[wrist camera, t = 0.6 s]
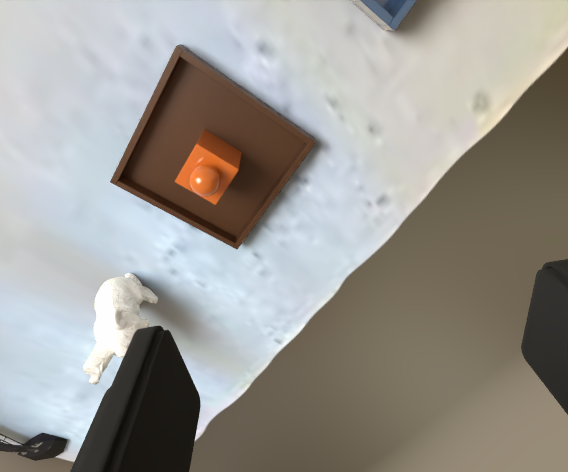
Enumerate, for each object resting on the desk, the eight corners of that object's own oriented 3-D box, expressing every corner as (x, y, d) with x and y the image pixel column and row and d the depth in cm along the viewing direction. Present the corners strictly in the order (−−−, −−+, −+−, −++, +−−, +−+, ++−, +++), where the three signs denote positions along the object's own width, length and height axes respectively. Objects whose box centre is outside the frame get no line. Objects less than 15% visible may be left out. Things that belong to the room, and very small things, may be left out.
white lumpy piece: (146, 318, 50) (116, 396, 40) (97, 299, 48) (51, 377, 38) (171, 275, 46) (144, 348, 36) (118, 253, 44) (74, 324, 34)
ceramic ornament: (184, 163, 39) (168, 193, 32) (204, 128, 37) (191, 153, 30) (220, 184, 40) (212, 217, 34) (242, 152, 38) (237, 180, 32)
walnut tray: (116, 175, 39) (109, 182, 38) (180, 44, 33) (176, 45, 32) (238, 241, 44) (237, 249, 43) (313, 137, 38) (315, 142, 37)
